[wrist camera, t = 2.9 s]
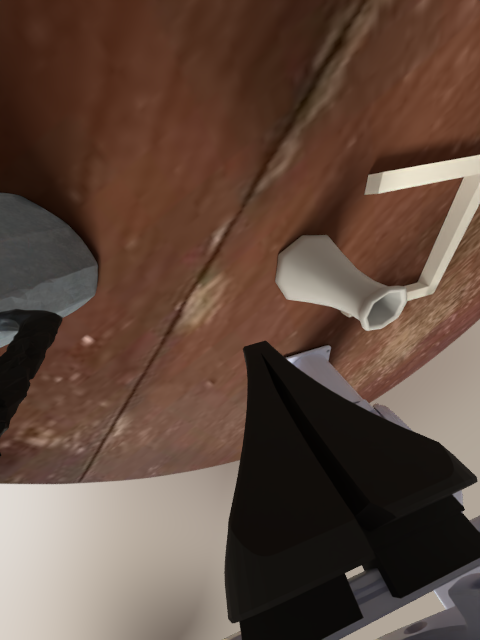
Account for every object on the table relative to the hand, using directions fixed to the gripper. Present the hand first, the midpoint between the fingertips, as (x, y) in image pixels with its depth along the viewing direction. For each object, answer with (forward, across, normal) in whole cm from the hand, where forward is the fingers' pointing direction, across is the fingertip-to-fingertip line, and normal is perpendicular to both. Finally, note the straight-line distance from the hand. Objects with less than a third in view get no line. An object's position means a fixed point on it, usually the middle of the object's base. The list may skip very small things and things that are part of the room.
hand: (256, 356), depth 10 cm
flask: (+11, -9, 0) cm, 14 cm away
